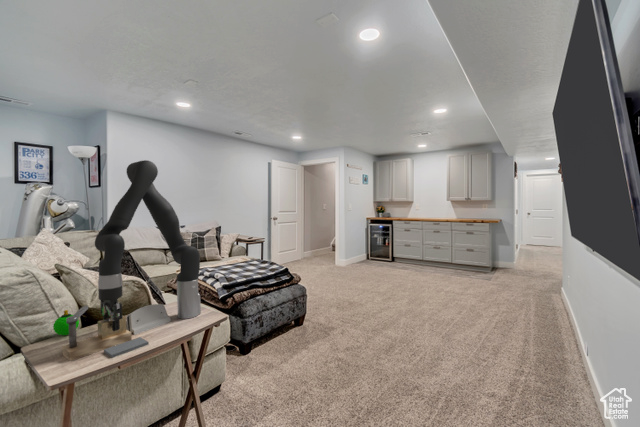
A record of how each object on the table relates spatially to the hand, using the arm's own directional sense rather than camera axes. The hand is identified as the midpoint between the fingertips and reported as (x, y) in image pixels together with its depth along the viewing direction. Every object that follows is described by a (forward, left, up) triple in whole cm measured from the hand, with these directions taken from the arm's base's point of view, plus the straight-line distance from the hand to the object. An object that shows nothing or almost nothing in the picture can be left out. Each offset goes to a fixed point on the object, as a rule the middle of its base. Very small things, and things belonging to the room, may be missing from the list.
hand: (111, 327), depth 113 cm
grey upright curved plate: (-15, -5, -6) cm, 17 cm away
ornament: (+8, -24, -6) cm, 26 cm away
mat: (-1, +10, -6) cm, 12 cm away
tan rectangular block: (0, 0, -3) cm, 3 cm away
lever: (+9, -5, +6) cm, 12 cm away
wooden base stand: (+4, 0, -6) cm, 7 cm away
